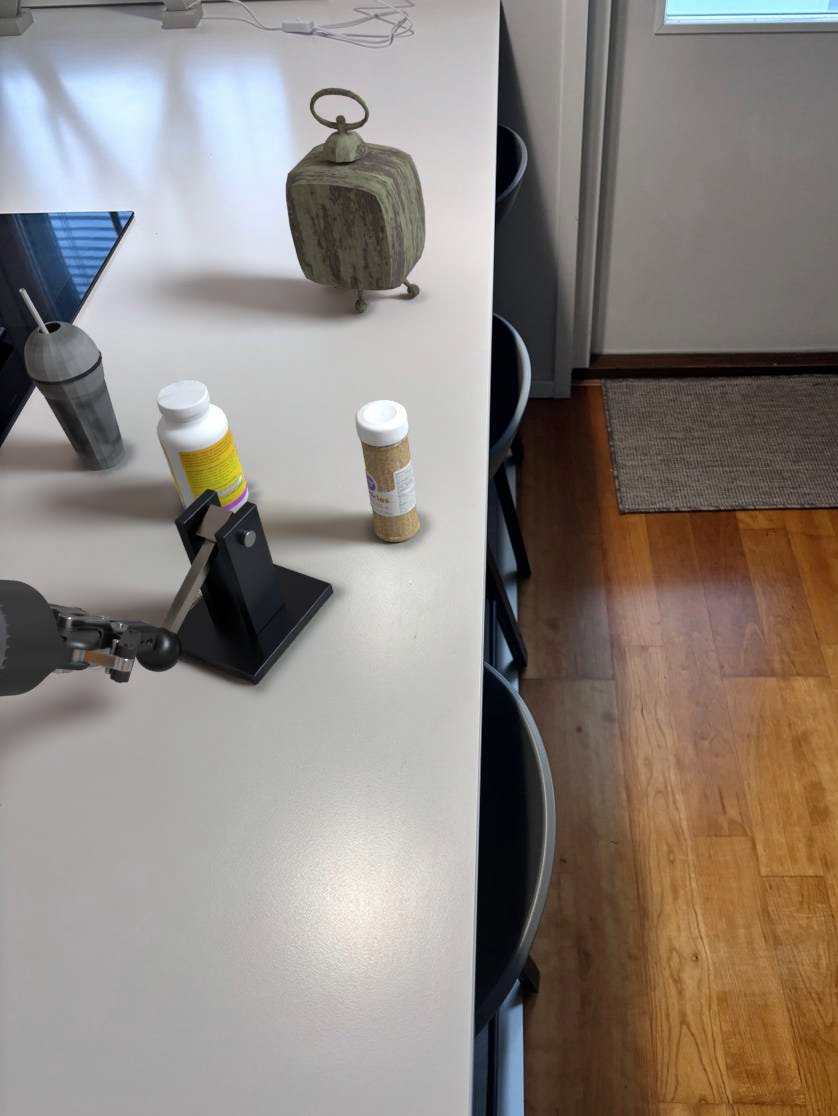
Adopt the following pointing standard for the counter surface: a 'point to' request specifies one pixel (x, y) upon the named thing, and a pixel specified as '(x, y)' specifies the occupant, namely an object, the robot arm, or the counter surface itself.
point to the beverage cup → (74, 389)
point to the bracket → (244, 596)
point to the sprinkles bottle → (388, 469)
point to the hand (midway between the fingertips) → (147, 636)
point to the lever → (185, 595)
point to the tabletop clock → (356, 210)
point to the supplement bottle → (199, 445)
